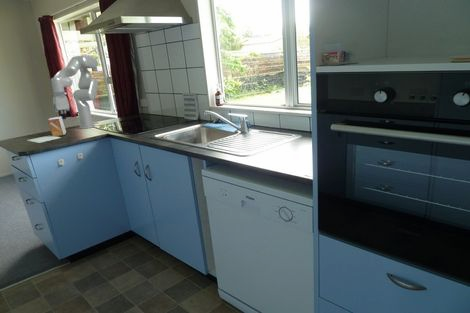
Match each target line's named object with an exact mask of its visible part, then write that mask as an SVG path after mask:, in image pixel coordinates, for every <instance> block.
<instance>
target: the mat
mask: <svg viewBox="0 0 470 313" xmlns="http://www.w3.org/2000/svg"><path fill="white" fill-rule="evenodd" d="M61 138H62V137H60V136H53V135H44V136H40V137H35V138H32V139H27V140H26V141H27V142H31V143H36V144H41V143H45V142H49V141H52V140H57V139H61Z"/></svg>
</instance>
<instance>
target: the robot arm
mask: <svg viewBox="0 0 470 313" xmlns="http://www.w3.org/2000/svg"><path fill="white" fill-rule="evenodd" d="M98 65H99V61H98V59H97V58H96V57H93V56H90V55H75V56H73V57H72V58H71V59H70V60H69V62H68V63H67V65H66V66H65V67H64V68H62V69H60V70H59V71H57V72H56V73H55V75H54V76H53V77H51V78H50V81H51V87H52V88H51V89H52V92H53V97H52V105H53V110H54V112H55V113H59V115H60V117H62V120H66V119H67V112H69V111H70V103H69V99H68V97H67V92H65V91H66V90H65V88H70V87H72V86H73V80H72V79H71V78H72V77H73V76H75V75H76V74H77V73H78V71H79V72H80V76H79V80H78V83H77V85H78V89H75V91H73V94H72V96H73V97H72V98H73V99H74V102H75V105H76V109H77V113H78V117H79V119H78V120H79V123H80V126H79V127H78V128H79V129H84V130H85V129H92V128H95V127H96V124H98V123H99V121H98V120H96V121H94V120H93V117H92V112H91V107H90V104H89V102H90V101H91V102H92V101H95V99H96V97H97V93H98V89H99V81H98V80H97V78H95V77H92V76H93V75H92V74H91V71H89V69H96V68H97V67H98Z"/></svg>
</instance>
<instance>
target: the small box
mask: <svg viewBox="0 0 470 313" xmlns="http://www.w3.org/2000/svg"><path fill="white" fill-rule="evenodd" d="M47 122H48V124H49V128H50V132H51V134H52V135H51V136H56V137H60V136H64V135H65V134H67V131H66V130H67V129H66V127H65V123H64V119H62V117H61V116H54V117H50V118H48V119H47Z"/></svg>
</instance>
